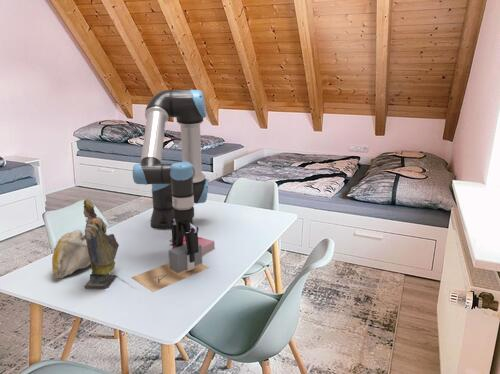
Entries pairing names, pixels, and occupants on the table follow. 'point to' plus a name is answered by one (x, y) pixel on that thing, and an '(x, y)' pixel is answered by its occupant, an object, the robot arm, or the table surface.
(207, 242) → the pink flat block
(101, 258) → the statue
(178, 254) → the block
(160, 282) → the oak board
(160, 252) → the table surface
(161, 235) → the table surface
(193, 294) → the table surface
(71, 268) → the stone
